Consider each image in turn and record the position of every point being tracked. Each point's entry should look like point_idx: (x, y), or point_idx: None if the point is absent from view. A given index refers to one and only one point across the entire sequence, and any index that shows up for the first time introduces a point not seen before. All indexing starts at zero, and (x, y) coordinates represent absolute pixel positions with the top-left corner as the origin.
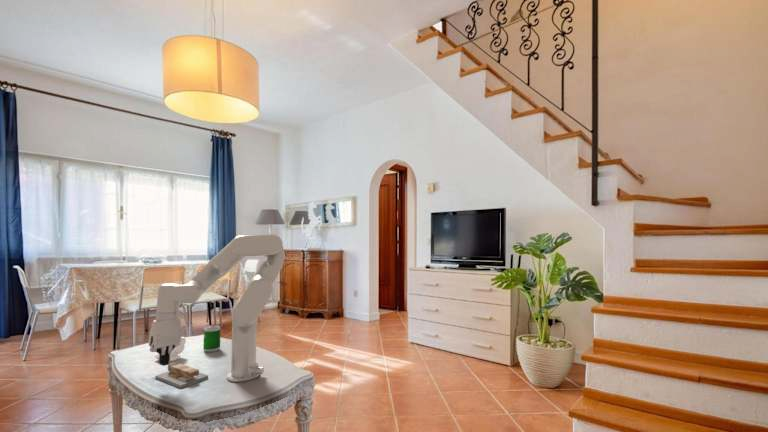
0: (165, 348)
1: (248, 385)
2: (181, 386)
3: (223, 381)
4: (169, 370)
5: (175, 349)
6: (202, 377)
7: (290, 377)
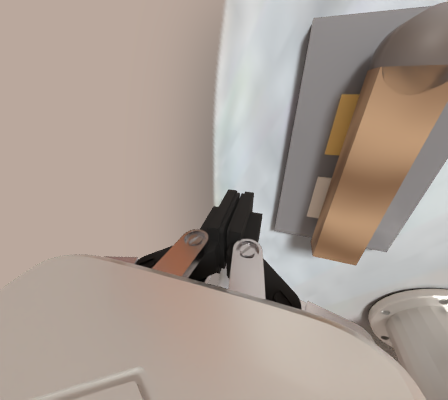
0: (231, 270)
1: None
2: (276, 228)
3: (366, 291)
4: (367, 72)
5: None
6: None
7: None
